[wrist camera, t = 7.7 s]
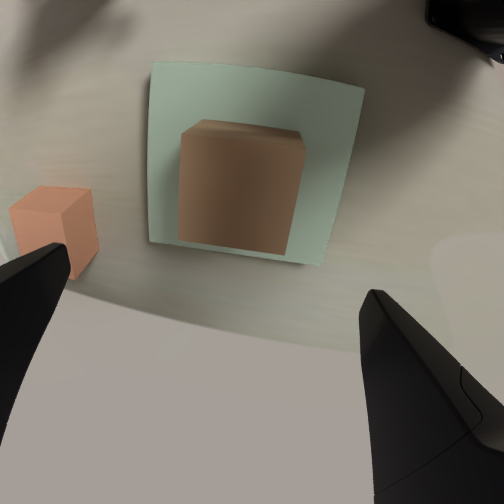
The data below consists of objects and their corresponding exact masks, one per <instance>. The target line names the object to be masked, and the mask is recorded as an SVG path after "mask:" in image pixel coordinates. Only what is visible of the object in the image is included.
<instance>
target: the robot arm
mask: <svg viewBox="0 0 504 504" xmlns="http://www.w3.org/2000/svg"><path fill="white" fill-rule="evenodd" d="M432 17H434V18H435V19H436V23H434V22H433V21H432ZM425 20H426V23H427V24H428V25H429V26H431V27H432V28H435V29H437V30H439V31H441V32H443V33H445V34H447V35H450V36H452V37H454V38H456V39H458V40H460V41H461V42H463V43H465V44H467V45H469V46H471V47H473V48H474V49H476V50H478V51H480V52H481V53H483V54H485V55H487V56H488V57H490V58H492V59H493V60H495V61H497V62H498V63H500V64H504V0H427V3H426V13H425ZM500 55H502V59H501V56H500ZM70 272H71V264H70V259H69V255H68V250H67V247H66V245H65V244H63V243H58V242H53V243H50V244H48V245H46V246H43V247H41V248H39V249H36V250H34V251H32V252H30V253H27V254H25V255H23V256H21V257H18V258H16V259H14V260H12V261H10V262H8V263H6V264H3V265H1V266H0V445H1V442H2V439H3V435H4V432H5V429H6V426H7V422H8V419H9V416H10V413H11V410H12V408H13V405H14V402H15V399H16V397H17V394H18V391H19V389H20V386H21V384H22V381H23V379H24V376H25V374H26V371H27V369H28V367H29V364H30V362H31V360H32V358H33V355H34V353H35V351H36V349H37V346H38V344H39V342H40V340H41V338H42V336H43V334H44V332H45V330H46V327H47V325H48V323H49V321H50V319H51V317H52V315H53V313H54V311H55V308H56V306H57V304H58V301H59V299H60V296H61V294H62V291H63V289H64V287H65V284H66V282H67V280H68V278H69V275H70ZM359 331H360V353H361V367H362V374H363V381H364V389H365V396H366V405H367V412H368V422H369V432H370V442H371V454H372V468H373V484H374V494H375V495H374V504H504V406H503V405H502V404H501V403H500V402H499V401H498V400H497V399H496V398H495V397H494V396H492V394H490V393H489V392H488V391H487V390H486V389H485V388H484V387H483V386H482V385H481V384H480V383H479V382H478V381H477V380H476V379H475V378H474V377H473V376H472V375H471V374H470V373H469V372H468V371H467V370H466V369H465V368H464V367H463V366H461V364H460V363H459V362H458V361H457V360H456V359H455V358H454V357H453V356H452V355H451V354H450V353H449V352H448V351H447V350H446V349H445V348H444V347H443V346H442V345H441V344H440V343H439V342H438V341H437V340H436V339H435V338H434V337H433V336H432V335H431V334H430V333H429V332H428V331H427V330H425V329H424V328H423V327H422V326H421V325H420V324H419V323H418V322H417V321H416V320H415V319H414V318H413V317H412V316H411V315H410V314H409V313H408V312H406V311H405V310H404V309H403V308H402V307H401V306H400V305H399V304H398V303H397V302H396V301H395V300H393V299H392V298H391V297H390V296H389V295H388V294H387V293H386V292H385V291H383V290H376V289H371V290H369V292H368V293H367V295H366V298H365V300H364V302H363V305H362V307H361V309H360V312H359Z"/></svg>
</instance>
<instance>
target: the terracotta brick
mask: <svg viewBox="0 0 504 504" xmlns="http://www.w3.org/2000/svg"><path fill="white" fill-rule="evenodd" d="M9 212H10V216H11V221H12V225H13V229H14V232H15V236H16V240H17V243H18V247H19V250H20V254H21V256H23V255H25V254H27V253H30V252H32V251H34V250H36V249H39V248H41V247H43V246H46V245H48V244H50V243H53V242H58V243H63V244H65V245H66V247H67V250H68V255H69V259H70V264H71V272H70V275H69V278H68V279H72V280H76V279H77V278H78V276H79V275H80V274H81V272H82V271H83V270H84V268H85V267H86V266H87V265H88V263H89V262H90V261H91V259H92V258H93V257H94V256H95V254H96V253H97V252H98V251H99V246H98V240H97V233H96V227H95V220H94V212H93V204H92V195H91V189H82V188H67V187H49V186H39V187H38V188H36V189H35V190H33V191H32V192H31V193H29V194H28V195H26V196H25V197H24V198H22V199H21V200H19V201H18V202H17V203H15V204H14V205H13V206H11V207H10V208H9Z"/></svg>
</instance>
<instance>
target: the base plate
mask: <svg viewBox="0 0 504 504" xmlns="http://www.w3.org/2000/svg"><path fill="white" fill-rule="evenodd" d="M364 93H365V89H364V88H361V87H357V86H353V85H349V84H345V83H341V82H336V81H332V80H328V79H323V78H318V77H313V76H308V75H303V74H297V73H291V72H285V71H279V70H272V69H264V68H257V67H248V66H238V65H227V64H213V63H192V62H152V70H151V82H150V97H149V117H148V151H147V189H148V224H149V241H150V242H157V243H163V244H170V245H177V246H184V247H191V248H197V249H204V250H211V251H218V252H225V253H232V254H238V255H245V256H252V257H259V258H266V259H273V260H280V261H287V262H294V263H301V264H308V265H315V266H321V265H322V262H323V259H324V255H325V252H326V249H327V245H328V242H329V238H330V235H331V231H332V228H333V224H334V220H335V217H336V213H337V209H338V206H339V202H340V198H341V194H342V190H343V186H344V182H345V178H346V174H347V170H348V166H349V162H350V158H351V154H352V149H353V145H354V141H355V136H356V132H357V127H358V123H359V118H360V113H361V108H362V103H363V98H364ZM202 119H207V120H218V121H228V122H236V123H245V124H253V125H260V126H267V127H274V128H280V129H286V130H292V131H298V132H300V135H301V137H302V140H303V142H304V145H305V147H306V155H305V161H304V166H303V171H302V176H301V181H300V186H299V191H298V196H297V200H296V205H295V210H294V215H293V220H292V224H291V229H290V234H289V238H288V243H287V248H286V252H285V256H283V255H277V254H270V253H263V252H256V251H249V250H242V249H235V248H228V247H221V246H215V245H208V244H201V243H194V242H187V241H180V240H178V195H179V167H180V146H181V134H182V133H183V132H185V131H186V130H187V129H189V128H190V127H192V126H193V125H195V124H196V123H198V122H199V121H201V120H202Z"/></svg>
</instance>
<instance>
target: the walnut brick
mask: <svg viewBox="0 0 504 504" xmlns="http://www.w3.org/2000/svg"><path fill="white" fill-rule="evenodd" d="M305 155H306V147H305V145H304V142H303V140H302V137H301V135H300V132H298V131H292V130H286V129H280V128H274V127H267V126H260V125H253V124H245V123H236V122H228V121H218V120H207V119H202V120H201V121H199V122H198V123H196V124H195V125H193V126H192V127H190V128H189V129H187V130H186V131H185V132H183V133H182V134H181V146H180V167H179V195H178V240H180V241H187V242H194V243H201V244H208V245H215V246H221V247H228V248H235V249H242V250H249V251H256V252H263V253H270V254H277V255H283V256H285V252H286V248H287V243H288V238H289V234H290V229H291V224H292V220H293V215H294V210H295V205H296V200H297V196H298V191H299V186H300V181H301V176H302V171H303V166H304V161H305Z"/></svg>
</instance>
